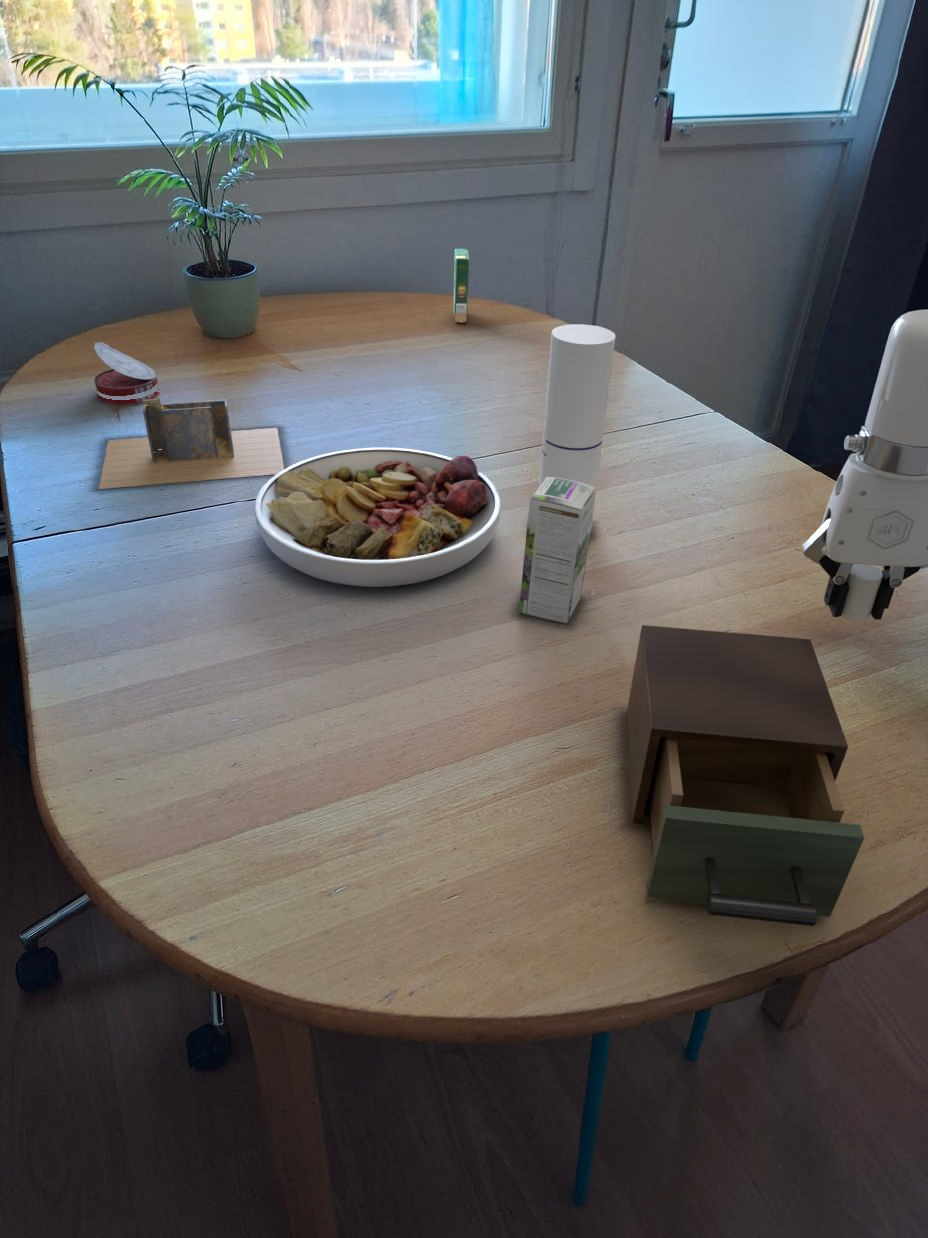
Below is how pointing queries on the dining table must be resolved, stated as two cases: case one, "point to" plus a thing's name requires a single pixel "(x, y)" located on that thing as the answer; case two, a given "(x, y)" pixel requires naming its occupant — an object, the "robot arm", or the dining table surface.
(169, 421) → the ruin model on sheet
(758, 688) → the cabinet
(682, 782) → the drawer
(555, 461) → the cylindrical container
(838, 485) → the robot arm
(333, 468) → the bowl
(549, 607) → the syrup box
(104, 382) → the canned food
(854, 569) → the white cylinder
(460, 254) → the coffee box
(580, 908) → the dining table surface
